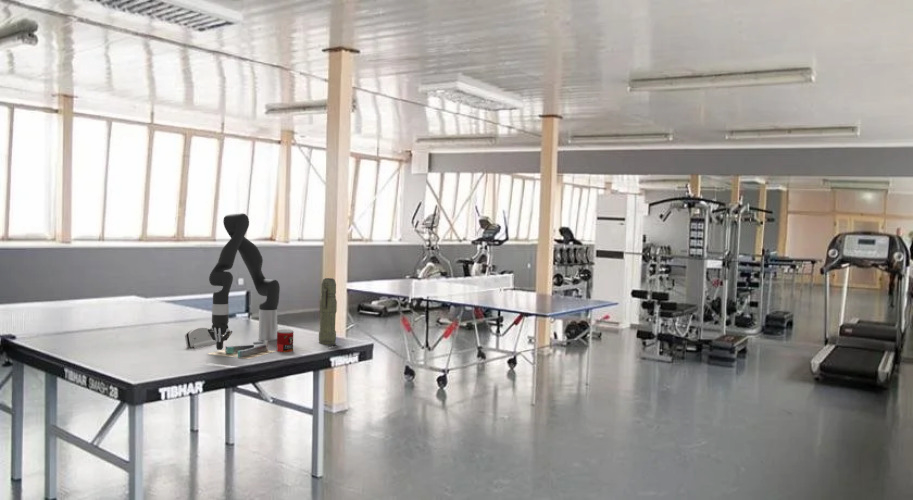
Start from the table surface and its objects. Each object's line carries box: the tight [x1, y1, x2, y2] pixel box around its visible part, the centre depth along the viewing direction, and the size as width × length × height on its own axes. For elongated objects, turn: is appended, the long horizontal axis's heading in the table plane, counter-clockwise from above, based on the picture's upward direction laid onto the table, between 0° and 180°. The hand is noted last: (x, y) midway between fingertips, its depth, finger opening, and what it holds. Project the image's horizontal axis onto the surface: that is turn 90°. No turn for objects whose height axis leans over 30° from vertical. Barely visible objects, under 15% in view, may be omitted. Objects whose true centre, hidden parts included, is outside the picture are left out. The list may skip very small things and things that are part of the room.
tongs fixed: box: [237, 340, 269, 359], centre depth 323 cm, size 20×3×5 cm, turn 161°
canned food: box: [276, 329, 294, 353], centre depth 333 cm, size 8×8×11 cm
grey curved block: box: [184, 327, 216, 350], centre depth 345 cm, size 17×5×10 cm, turn 161°
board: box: [207, 348, 277, 360], centre depth 325 cm, size 21×24×1 cm
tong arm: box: [224, 341, 264, 354], centre depth 325 cm, size 18×3×4 cm, turn 123°
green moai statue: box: [318, 277, 338, 347], centre depth 359 cm, size 9×12×35 cm
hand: (219, 349), depth 324 cm, fingers closed
